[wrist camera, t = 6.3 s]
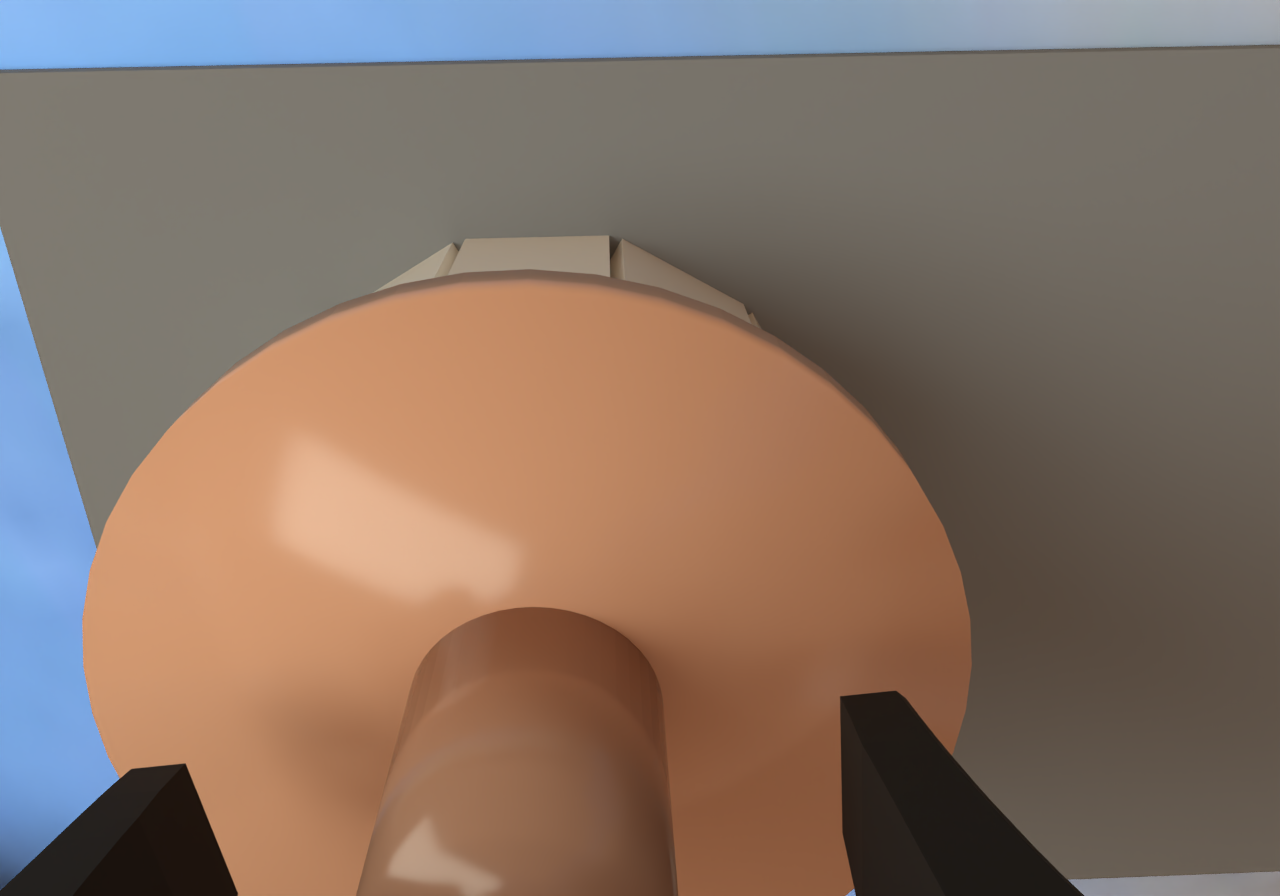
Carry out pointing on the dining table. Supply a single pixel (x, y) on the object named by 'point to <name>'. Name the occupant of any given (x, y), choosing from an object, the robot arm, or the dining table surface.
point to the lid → (521, 599)
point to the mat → (795, 331)
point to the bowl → (570, 265)
